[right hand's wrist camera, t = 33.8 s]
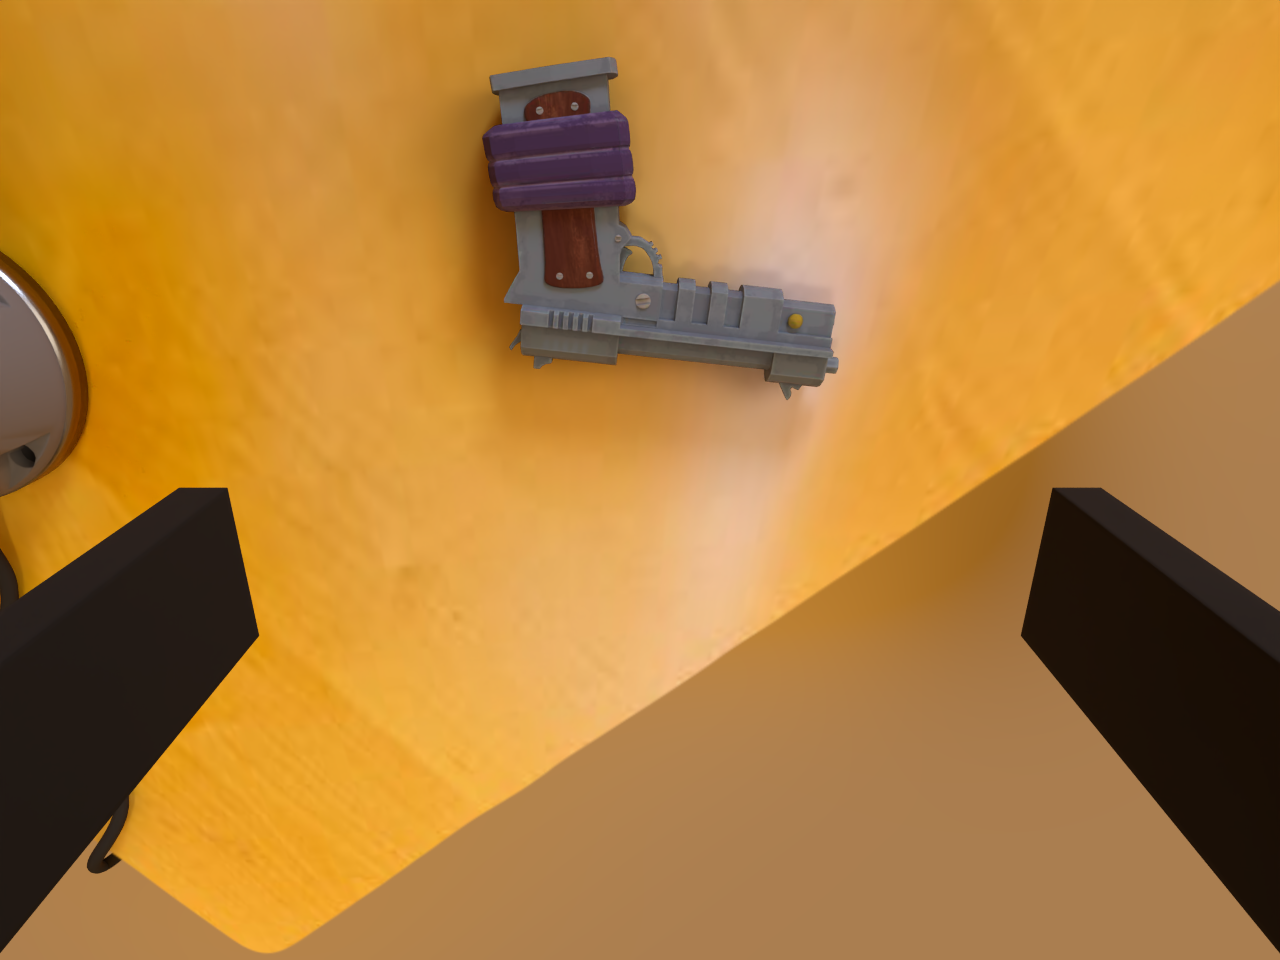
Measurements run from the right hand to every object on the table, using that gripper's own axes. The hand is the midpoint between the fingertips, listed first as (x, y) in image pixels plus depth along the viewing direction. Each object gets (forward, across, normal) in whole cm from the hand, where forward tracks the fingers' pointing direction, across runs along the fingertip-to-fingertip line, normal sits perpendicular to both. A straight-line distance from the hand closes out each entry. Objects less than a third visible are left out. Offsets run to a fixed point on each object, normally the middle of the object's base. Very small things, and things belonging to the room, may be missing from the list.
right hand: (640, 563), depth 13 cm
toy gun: (+31, -2, -3) cm, 31 cm away
